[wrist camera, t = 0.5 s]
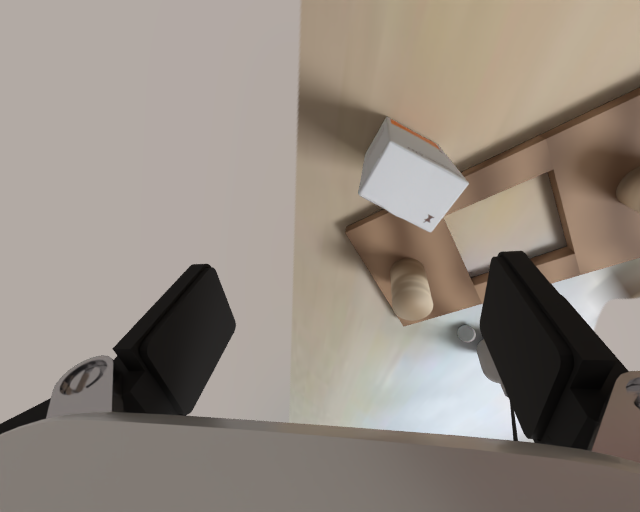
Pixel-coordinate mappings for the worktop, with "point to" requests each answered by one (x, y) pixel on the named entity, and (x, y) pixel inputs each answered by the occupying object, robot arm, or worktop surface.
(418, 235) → the walnut rail
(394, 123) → the skincare box
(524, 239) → the worktop surface
